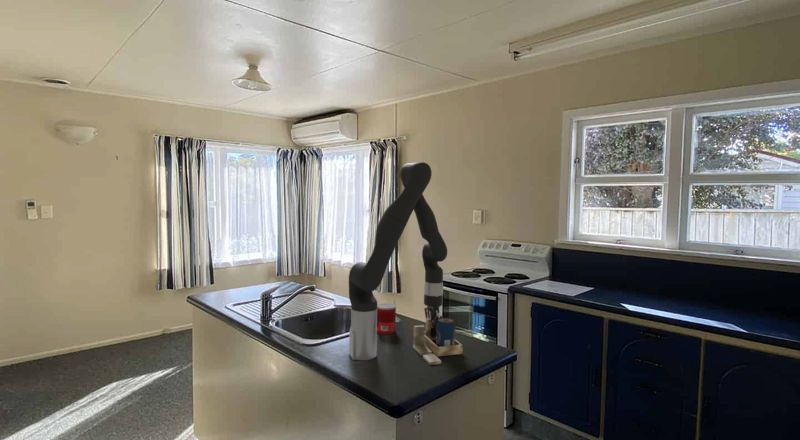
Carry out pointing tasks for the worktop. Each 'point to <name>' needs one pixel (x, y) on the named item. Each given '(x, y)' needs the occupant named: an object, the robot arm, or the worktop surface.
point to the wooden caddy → (444, 349)
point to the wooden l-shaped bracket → (423, 346)
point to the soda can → (445, 332)
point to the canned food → (386, 318)
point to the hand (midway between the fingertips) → (432, 335)
